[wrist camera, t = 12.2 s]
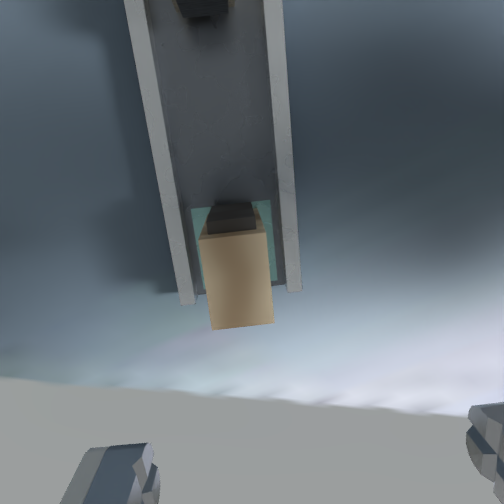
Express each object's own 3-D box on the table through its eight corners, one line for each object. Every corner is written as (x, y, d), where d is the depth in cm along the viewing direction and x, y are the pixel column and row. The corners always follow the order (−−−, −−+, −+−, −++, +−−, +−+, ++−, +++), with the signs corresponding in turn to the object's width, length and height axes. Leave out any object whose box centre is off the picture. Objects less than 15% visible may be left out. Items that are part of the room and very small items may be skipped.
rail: (267, -117, 23) (287, -276, 14) (296, 278, 31) (320, 329, 23) (114, -102, 22) (41, -253, 14) (185, 291, 31) (167, 348, 22)
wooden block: (256, 198, 28) (264, 219, 20) (263, 277, 30) (274, 323, 22) (206, 203, 28) (196, 226, 20) (217, 282, 30) (212, 330, 22)
